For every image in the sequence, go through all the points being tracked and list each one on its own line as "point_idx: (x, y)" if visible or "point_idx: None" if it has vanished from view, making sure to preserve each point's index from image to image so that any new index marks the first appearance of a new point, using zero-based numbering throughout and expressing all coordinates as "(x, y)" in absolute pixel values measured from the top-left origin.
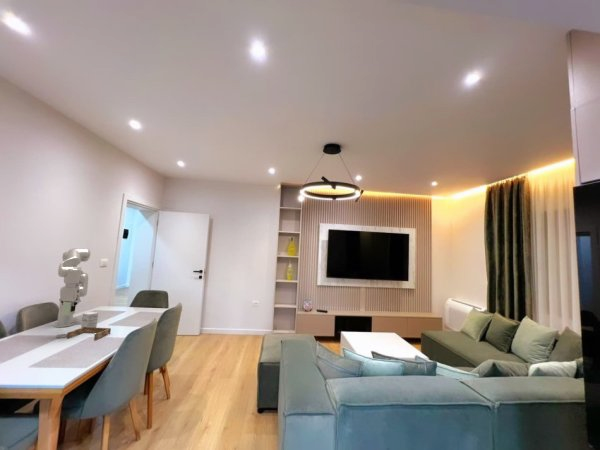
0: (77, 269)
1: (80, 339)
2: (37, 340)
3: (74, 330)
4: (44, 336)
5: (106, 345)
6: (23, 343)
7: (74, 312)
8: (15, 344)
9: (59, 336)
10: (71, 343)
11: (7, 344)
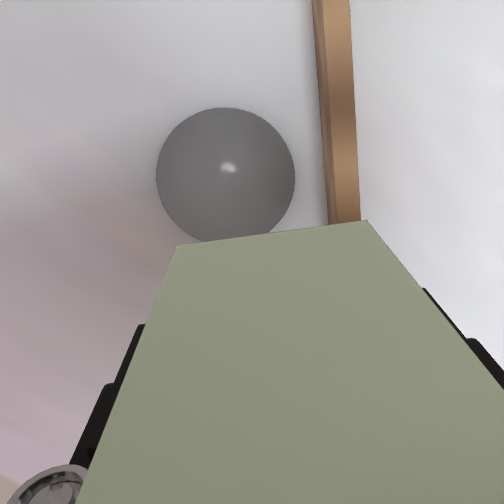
0: None
1: (490, 210)
2: (118, 344)
3: (339, 142)
4: (47, 233)
5: None
6: None
7: (373, 235)
8: (67, 457)
9: (217, 218)
10: (491, 330)
11: (13, 471)
